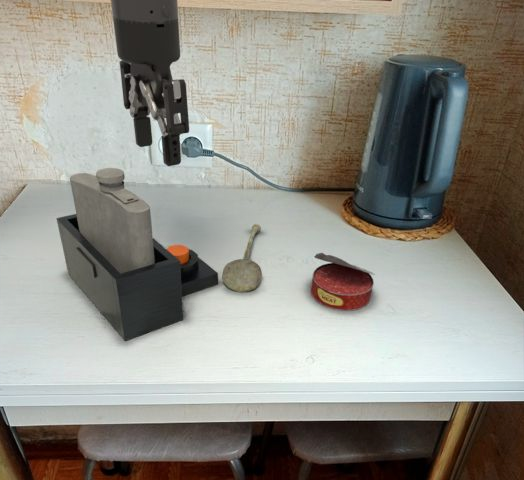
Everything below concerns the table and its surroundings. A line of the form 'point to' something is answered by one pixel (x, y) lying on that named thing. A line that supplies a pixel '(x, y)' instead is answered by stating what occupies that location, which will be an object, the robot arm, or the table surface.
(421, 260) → the table surface
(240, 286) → the soupspoon
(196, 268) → the control panel
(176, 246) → the button
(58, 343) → the table surface
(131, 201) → the hip flask
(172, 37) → the robot arm
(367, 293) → the canned food
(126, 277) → the black storage bin
